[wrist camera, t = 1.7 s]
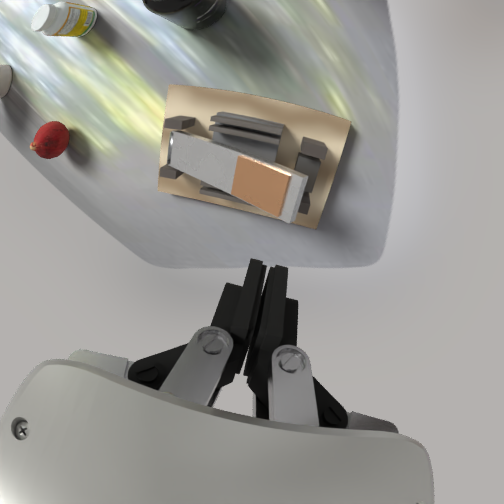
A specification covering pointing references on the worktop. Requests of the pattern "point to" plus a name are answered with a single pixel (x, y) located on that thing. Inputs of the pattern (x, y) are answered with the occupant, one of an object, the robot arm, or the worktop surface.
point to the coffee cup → (5, 79)
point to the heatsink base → (265, 110)
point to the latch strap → (239, 173)
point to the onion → (51, 140)
